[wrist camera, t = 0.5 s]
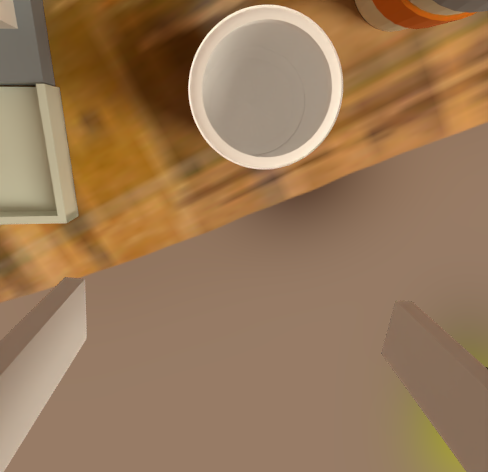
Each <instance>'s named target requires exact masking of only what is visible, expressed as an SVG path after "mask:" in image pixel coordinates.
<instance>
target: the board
mask: <svg viewBox="0 0 488 472" xmlns="http://www.w3.org/2000/svg"><path fill="white" fill-rule="evenodd" d="M13 3H14V9H15V15H16V21H17V26H18V29H0V85H25V86H36V84H47V85H51V86H55V81H54V74H53V67H52V61H51V54H50V48H49V41H48V34H47V28H46V21H45V15H44V8H43V1H42V0H13Z"/></svg>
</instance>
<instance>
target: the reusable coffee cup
mask: <svg viewBox="0 0 488 472" xmlns="http://www.w3.org/2000/svg"><path fill="white" fill-rule="evenodd" d="M355 3H356V6H357V8H358V11H359V12H360V14H361V15H362V17H363V18H364V19H365V20H366V21H367V22H368V23H369V24H370V25H372V26H373V27H375V28H377V29H380V30H383V31H390V32H392V31H399V30H403V29H407V28H412V29H420V28H428V27H432V26H436V25H440V24H444V23H448V22H452V21H455V20H459V19H462V18H465V17H468V16H471V15H473V14H475V13H477V12H481V11H488V0H355Z"/></svg>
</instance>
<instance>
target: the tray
mask: <svg viewBox="0 0 488 472" xmlns="http://www.w3.org/2000/svg"><path fill="white" fill-rule="evenodd" d="M78 216H79V215H78V208H77V202H76V195H75V188H74V182H73V175H72V168H71V161H70V155H69V148H68V141H67V134H66V128H65V121H64V114H63V107H62V101H61V94H60V88H58V87H55V86H51V85H47V84H36V87H0V224H45V223H68V222H69V221H71V220H73V219H74V218H76V217H78Z"/></svg>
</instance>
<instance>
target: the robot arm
mask: <svg viewBox="0 0 488 472" xmlns="http://www.w3.org/2000/svg"><path fill="white" fill-rule="evenodd" d="M86 338H87V333H86V297H85V279H81V278H68V277H65V278H64V279H63V280H62V281H61V282H60V283H59V284H58V285H57V286H56V287H55V288H54V289H53V290H52V291H51V292H50V293H49V294H48V295H47V296H45V298H44V299H42V300H41V301H40V302H39V303H38V304H37V305H36V307H34V308H33V309H32V310H31V311H30V312H29V313H28V314H27V315H26V316H25V317H24V318H23V319H22V320H21V321H20V322H19V323H18V324H17V325H16V326H15V327H14V328H13V329H12V330H11V331H10V332H9V333H8V334H7V335H6V336H5V337H4V338H3V339H2V340H1V341H0V472H4V470H5V468H6V467H7V466H8V464H9V462H10V461H11V459H12V458H13V456H14V454H15V453H16V451H17V449H18V448H19V446H20V445H21V443H22V441H23V440H24V438H25V436H26V435H27V433H28V432H29V430H30V428H31V427H32V425H33V424H34V422H35V420H36V419H37V417H38V416H39V414H40V412H41V411H42V409H43V408H44V406H45V404H46V403H47V401H48V400H49V398H50V396H51V395H52V393H53V392H54V390H55V388H56V387H57V385H58V384H59V382H60V380H61V379H62V377H63V375H64V374H65V372H66V371H67V369H68V367H69V366H70V364H71V363H72V361H73V359H74V358H75V356H76V354H77V353H78V351H79V350H80V348H81V346H82V345H83V343H84V342H85V340H86ZM381 354H382V355H383V357H384V358H385V360H386V361H387V362H388V364H389V365H390V366H391V368H392V369H393V371H394V372H395V373H396V375H397V376H398V378H399V379H400V380H401V382H402V383H403V384H404V386H405V387H406V389H407V390H408V391H409V393H410V394H411V396H412V397H413V398H414V400H415V401H416V402H417V404H418V405H419V407H420V408H421V409H422V411H423V412H424V413H425V415H426V416H427V418H428V419H429V420H430V422H431V423H432V425H433V426H434V427H435V429H436V430H437V431H438V433H439V434H440V436H441V437H442V438H443V440H444V441H445V443H446V444H447V445H448V447H449V448H450V450H451V451H452V452H453V453H454V455H455V456H456V458H457V459H458V461H459V462H460V463H461V465H462V466H463V467H464V469H465V470H466V471H467V472H488V368H487V367H484V366H483V365H482V364H481V363H480V362H479V361H478V360H477V359H476V358H475V357H473V356H472V355H471V354H470V353H469V352H468V351H467V350H466V349H464V348H463V347H462V346H461V345H460V344H459V343H458V342H457V341H456V340H454V339H453V338H452V337H451V336H450V335H449V334H448V333H447V332H445V331H444V330H443V329H442V328H441V327H440V326H439V325H437V323H435V322H434V321H433V320H432V319H431V318H430V317H429V316H428V315H427V314H425V313H424V312H423V311H422V310H421V309H420V308H419V307H417V306H416V305H415V304H414V303H413V302H412V301H395V305H394V308H393V312H392V316H391V319H390V323H389V327H388V330H387V334H386V338H385V341H384V345H383V349H382V353H381Z"/></svg>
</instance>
